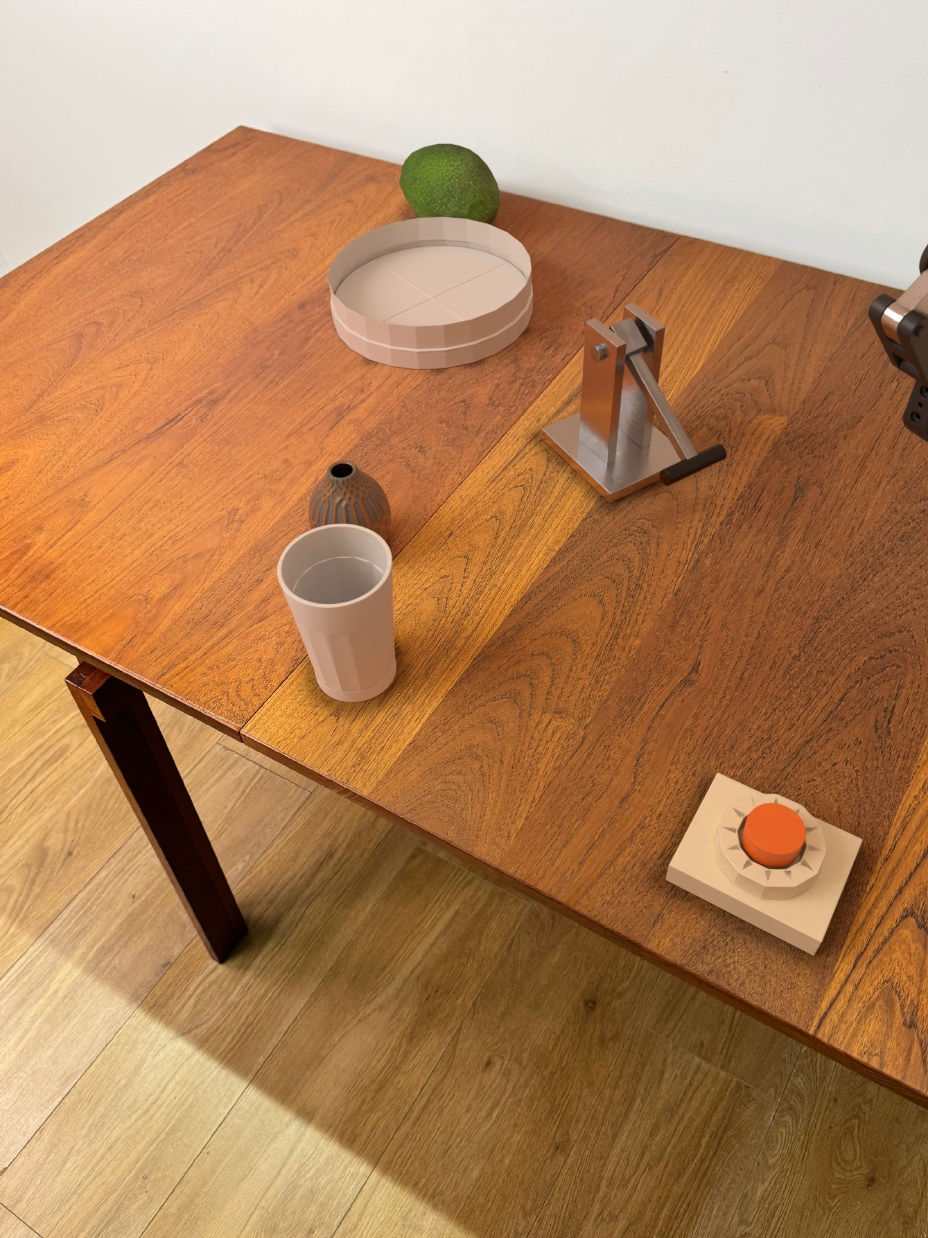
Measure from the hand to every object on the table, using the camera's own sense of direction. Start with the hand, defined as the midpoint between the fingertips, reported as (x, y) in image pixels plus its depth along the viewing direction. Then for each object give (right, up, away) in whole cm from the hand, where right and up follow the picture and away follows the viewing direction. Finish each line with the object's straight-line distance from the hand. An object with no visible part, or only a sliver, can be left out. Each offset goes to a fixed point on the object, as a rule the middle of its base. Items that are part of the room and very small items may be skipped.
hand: (926, 429), depth 53 cm
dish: (-28, +24, +58) cm, 68 cm away
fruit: (-26, +38, +69) cm, 83 cm away
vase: (-34, -4, +34) cm, 48 cm away
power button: (-5, -24, +11) cm, 27 cm away
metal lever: (-9, +8, +32) cm, 34 cm away
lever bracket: (-10, +6, +41) cm, 43 cm away
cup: (-33, -14, +26) cm, 44 cm away
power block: (-5, -26, +13) cm, 30 cm away
